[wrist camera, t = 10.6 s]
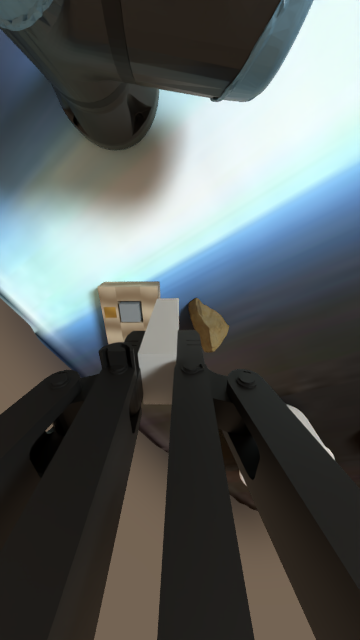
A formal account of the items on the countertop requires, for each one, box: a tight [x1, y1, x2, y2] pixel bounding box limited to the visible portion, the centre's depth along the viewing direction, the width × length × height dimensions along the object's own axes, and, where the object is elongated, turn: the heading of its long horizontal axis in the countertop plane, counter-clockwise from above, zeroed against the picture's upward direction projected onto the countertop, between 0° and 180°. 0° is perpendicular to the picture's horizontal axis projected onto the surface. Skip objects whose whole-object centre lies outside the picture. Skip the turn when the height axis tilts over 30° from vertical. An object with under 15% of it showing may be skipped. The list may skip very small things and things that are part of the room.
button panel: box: [98, 282, 160, 344], centre depth 47 cm, size 30×12×4 cm, turn 0°
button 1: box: [119, 301, 143, 322], centre depth 43 cm, size 4×4×3 cm
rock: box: [188, 298, 229, 352], centre depth 43 cm, size 11×9×10 cm
